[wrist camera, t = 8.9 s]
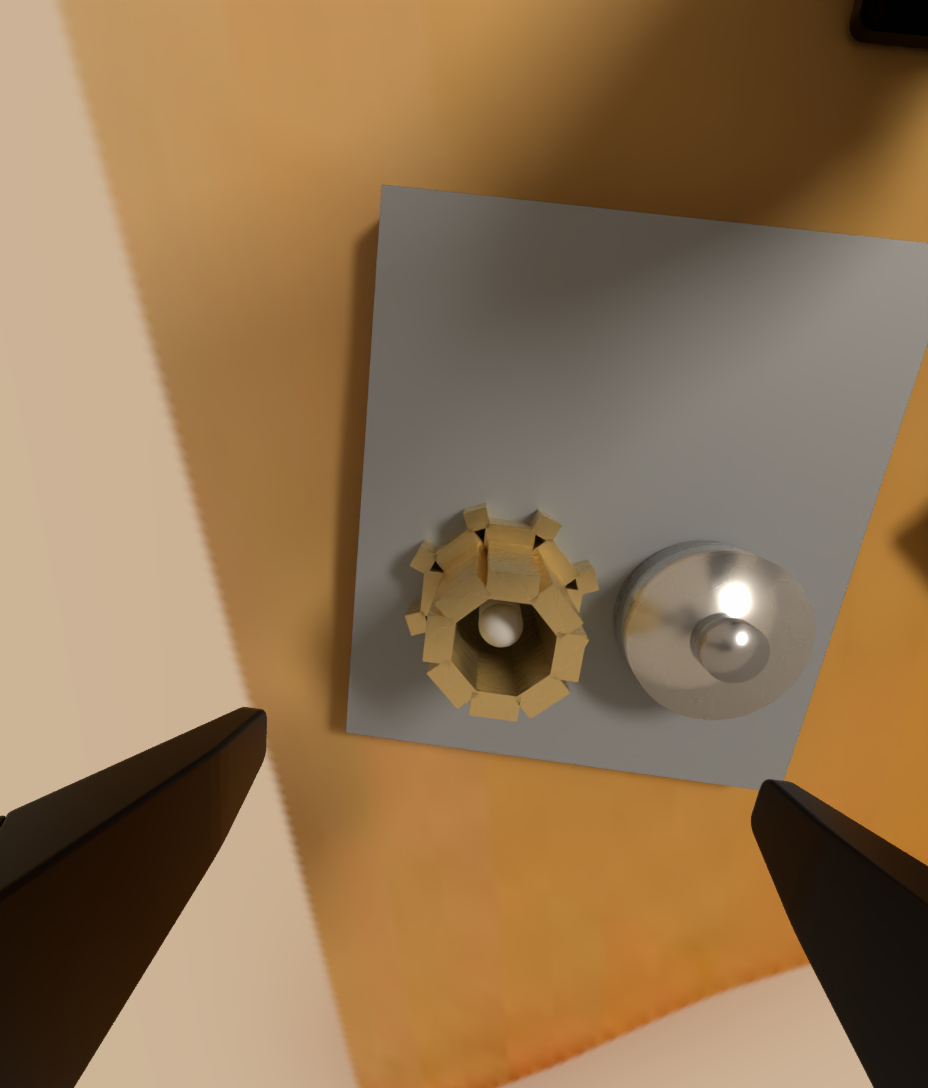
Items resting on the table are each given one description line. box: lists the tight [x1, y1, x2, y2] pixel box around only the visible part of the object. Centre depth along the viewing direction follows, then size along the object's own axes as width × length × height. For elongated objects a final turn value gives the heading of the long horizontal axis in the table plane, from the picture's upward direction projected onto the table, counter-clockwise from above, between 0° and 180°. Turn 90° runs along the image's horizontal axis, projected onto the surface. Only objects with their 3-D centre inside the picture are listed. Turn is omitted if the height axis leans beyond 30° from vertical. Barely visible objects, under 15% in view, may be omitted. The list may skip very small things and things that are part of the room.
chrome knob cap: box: [613, 540, 815, 720], centre depth 16 cm, size 6×6×3 cm
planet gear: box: [405, 503, 599, 722], centre depth 15 cm, size 7×7×5 cm
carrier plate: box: [346, 185, 928, 790], centre depth 15 cm, size 18×20×5 cm
